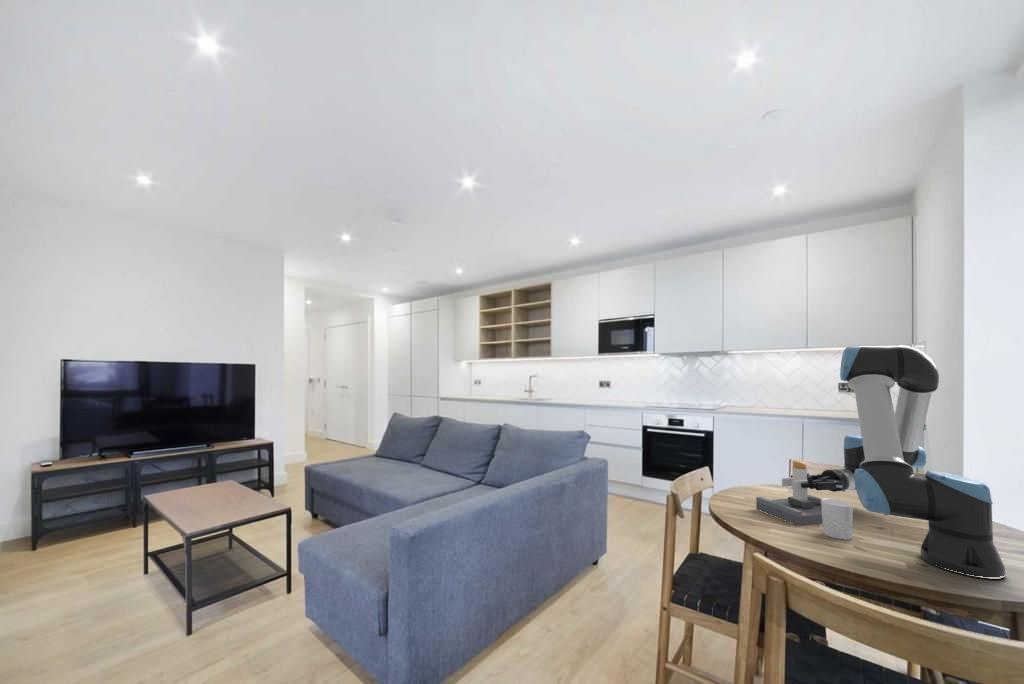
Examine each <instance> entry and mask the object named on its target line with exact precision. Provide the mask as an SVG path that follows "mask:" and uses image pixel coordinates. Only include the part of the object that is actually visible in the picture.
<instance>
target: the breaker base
mask: <svg viewBox="0 0 1024 684" xmlns="http://www.w3.org/2000/svg"><path fill="white" fill-rule="evenodd" d="M755 497H756V500H755V501H756V502H755V505H756V510H757V509H758V510H757V511H759V510H761V511H763V512H762V513H764V512H766V513H768V514H767V515H769V514H771V515H773V516H772V517H774V516H776V517H778V518H777V519H779V518H781V519H783V520H782V521H784V520H786V521H788V522H787V523H789V522H791V523H793V524H792V525H794V524H795V526H796V525H797V527H799V526H798V525H802V526H808V525H809V526H810V525H818V524H819V525H820V524H823V521H822V510H821V499H822V498H820V497H817V496H814V495H811V494H808V493H807V499H808V500H809V501H812V502H813V508H801V507H798V506H795V505H793V504H790V503H788V497H787V498H777V499H776V498H774V499H769V498H766V497H763V496H755ZM761 511H760V512H761ZM766 513H765V514H766ZM771 515H770V516H771ZM776 517H775V518H776ZM781 519H780V520H781ZM786 521H785V522H786ZM791 523H790V524H791Z"/></svg>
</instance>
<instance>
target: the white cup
mask: <svg viewBox="0 0 1024 684" xmlns="http://www.w3.org/2000/svg"><path fill="white" fill-rule="evenodd" d="M820 499H821V510H822V521H823V523H822V527H823V534H824V535H826V536H828V537H830V538H833V539H836V540H842V539H843V540H845V541H849V540H851V539H852V529H853V523H854V522H853V521H854V520H853V518H854V517H853V515H854V511H853V510H854V505H853V504H852V503H850V502H848V501H845V500H840V499H837V498H835V499H834V498H820Z"/></svg>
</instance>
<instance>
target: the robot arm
mask: <svg viewBox="0 0 1024 684" xmlns="http://www.w3.org/2000/svg"><path fill="white" fill-rule="evenodd" d="M839 371H840V372H839V378H840V380H841V381H843V382H847V386H848V388H849V389H851V390H853V391H854V395H855V400H856V407H857V408H856V409H857V415H858V421H859V427H860V428H859V429H860V434H861V435H856V434H855V435H854V434H847V435H845V436H844V438H843V459H844V462H843V463H844V465H843V466H844V468H835V469H834V468H833V469H826V470H824V471H822V472H821V474H820V473H819V474H810V473H809V472H807V480H800V481H793V477H792V475H791V474H790V477H785V478H783V477H781V487H786V488H787V487H791V490H792V491H793V490H796V489H807V490H808V489H810V490H815V491H830V492H835V493H836V492H844V493H845V492H847V491H855V490H856V494H857V497H858V499H859V502H860V504H861V506H862V507H863V508H864V509H865V510H867V511H868V512H870V513H876V514H880V515H884V516H895V517H901V518H908V519H914V520H921V521H927V522H928V529H927V532H926V535H925V537H924V539H923V541H922V543H921V546H920V557H921V558H922V560H924V559H925V560H926V561H925V560H924V561H925V562H927V561H928V562H927V563H929V562H930V563H932V564H931V565H933V564H934V565H933V566H935V565H937V566H939V567H938V568H940V567H942V568H946V569H949V570H953V571H957V572H961V573H964V574H969V575H974V576H983V577H1000V576H1004V575H1005V576H1006V568H1005V567H1006V566H1005V565H1004V563H1003V560H1002V558H1001V556H1000V554H999V551H998V550H997V548H996V546H995V543H994V532H993V528H994V527H993V511H992V510H993V507H992V505H993V500H992V495H991V488H990V487H989V486H988V485H987V484H986V483H984V482H982V481H980V480H977V479H973V478H971V477H965V476H962V475H958V474H954V473H949V472H944V471H939V470H938V471H937V470H927V471H926V472H925V475H919V474H918V475H917V474H915V473H914V468H917V469H918V468H919V469H920V468H924V467H925V466H926V464H927V453H926V450H925V449H924V448H923V447H922V446H920V444H921V440H922V437H923V431H924V426H925V422H926V418H927V414H928V410H929V406H930V402H931V399H932V398H931V397H932V394H933V393H934V392H936V391H937V390H938V387H939V383H940V375H939V370H938V368H937V366H936V365H935V363H934V362H933V360H932V359H931V358H930V357H929V356H928V355H927V354H925V353H924V352H922V350H919V349H917V348H914V347H911V346H907V345H886V346H885V345H884V346H883V345H880V346H878V345H877V346H873V345H871V346H864V345H859V346H858V345H857V346H848V347H846V348H844V350H843V351H842V355H841V361H840V369H839ZM895 385H897V386H898V387H899V389H898V390H899V391H898V394H897V395H898V396H897V400H896V407H895V409H894V405H893V400H892V394H891V389H892V388H893V387H895ZM894 410H895V411H894ZM930 563H929V564H930ZM937 566H936V567H937ZM942 568H941V569H942Z"/></svg>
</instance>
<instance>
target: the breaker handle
mask: <svg viewBox="0 0 1024 684" xmlns="http://www.w3.org/2000/svg"><path fill="white" fill-rule="evenodd" d="M791 473H792V477H793V481H800V480H807V473H808V468H807V462H806V461H802V460H801V461H800V460H792V467H791ZM807 494H808V489H796V490H793V489H792V496H789V497H787V498H788V503H790V504H793V505H795V506H798V507H801V508H813V502H812V501H809V500H808V499H807Z"/></svg>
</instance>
